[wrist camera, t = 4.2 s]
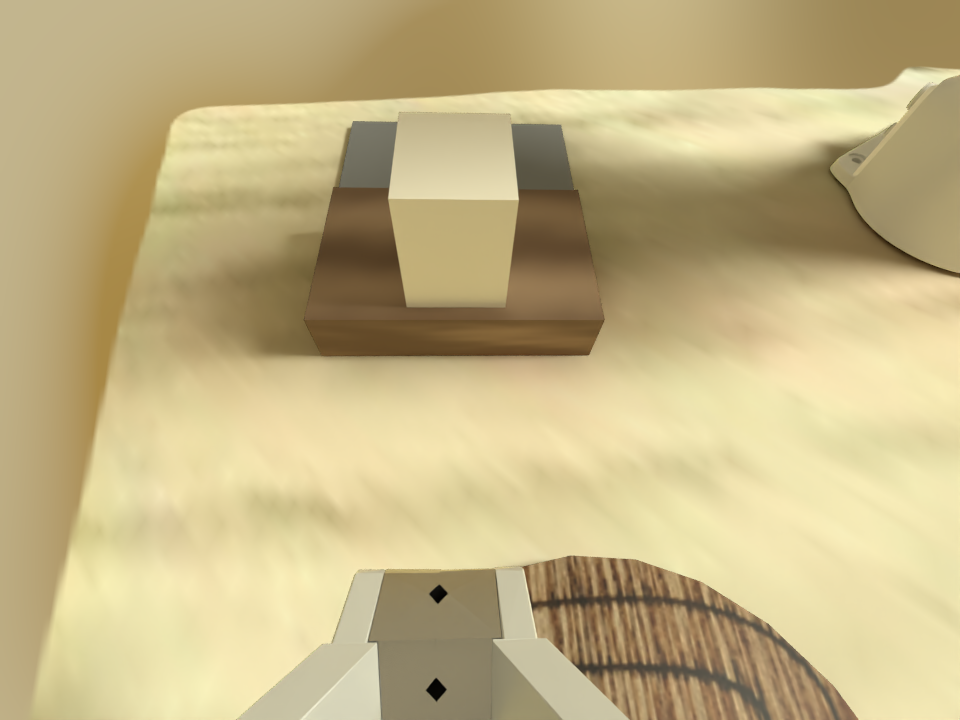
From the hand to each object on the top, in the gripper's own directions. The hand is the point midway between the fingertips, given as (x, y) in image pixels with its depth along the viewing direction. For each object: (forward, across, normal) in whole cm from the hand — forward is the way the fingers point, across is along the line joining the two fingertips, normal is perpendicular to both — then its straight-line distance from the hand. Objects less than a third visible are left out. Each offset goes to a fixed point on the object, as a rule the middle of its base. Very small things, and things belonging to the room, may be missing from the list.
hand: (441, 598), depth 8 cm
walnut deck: (+27, 0, -4) cm, 27 cm away
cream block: (+23, 0, -5) cm, 24 cm away
